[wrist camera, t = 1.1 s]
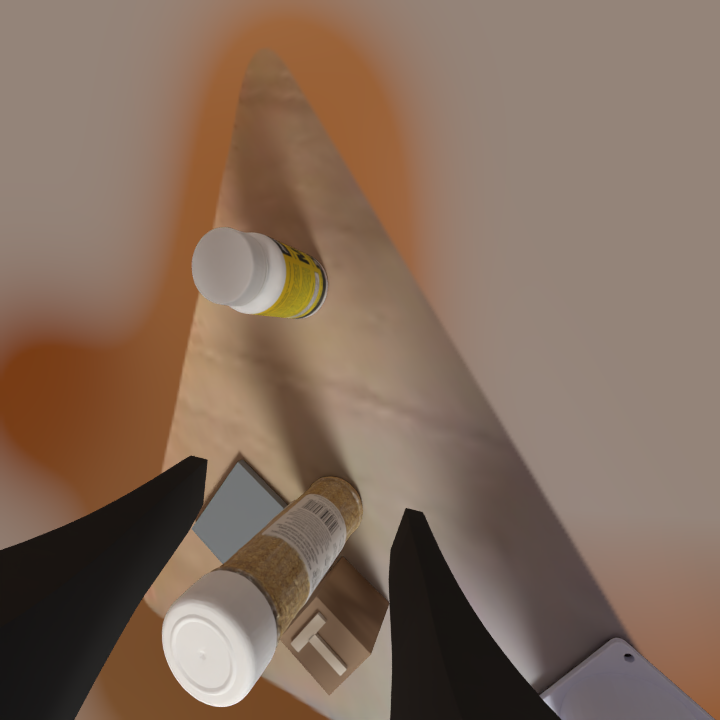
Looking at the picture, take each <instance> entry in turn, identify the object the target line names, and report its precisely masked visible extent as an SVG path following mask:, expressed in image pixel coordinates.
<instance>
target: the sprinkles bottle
mask: <svg viewBox="0 0 720 720" xmlns="http://www.w3.org/2000/svg"><path fill="white" fill-rule="evenodd" d="M362 514H363V509H362V503H361V499H360V497H359V495H358V493H357V492H356V490H355V489H354V488H353V487H352V486H351V485H350V484H349V483H348V482H346V481H345V480H343V479H341V478H338V477H331V476H329V477H323V478H320V479H318V480H317V481H315V482H314V483H313V484H312V485H311V486H310V488H309V489H308V490H307V491H306V492H305V493H304V494H303V495H301V496H300V497H299V498H298V499H297V500H294V501H293V502H291V503H290V504H289V505H288V506H287V507H286V508H284V509H283V510H282V511H281V512H280V513H279V514H277V515H276V516H275V517H274V518H273V519H272V520H270V521H269V522H268V524H267V525H266V526H265V527H264V528H263V529H262V530H261V531H260V532H258V533H257V534H256V535H255V536H254V537H253V538H252V539H251V540H250V541H248V542H247V543H246V544H245V545H244V546H243V547H241V548H240V549H239V550H238V551H237V552H236V553H235V554H234V555H233V556H232V557H231V558H229V559H228V560H227V561H226V562H225V563H224V564H223V565H221V566H220V567H219V568H216V569H214V570H212V571H211V572H210V573H208V574H206V575H204V576H203V577H201V578H200V579H199V580H198V581H197V582H195V583H194V584H193V585H192V586H191V587H190V588H189V589H187V590H186V591H185V592H184V593H183V594H182V595H181V596H180V597H179V598H178V599H177V600H176V601H175V602H174V603H173V604H172V605H171V607H170V608H169V610H168V612H167V613H166V616H165V619H164V622H163V628H162V642H163V648H164V653H165V656H166V659H167V662H168V664H169V667H170V669H171V671H172V673H173V674H174V676H175V677H176V679H177V680H178V682H179V683H180V684H181V685H182V687H183V688H184V689H185V690H186V691H187V692H188V693H189V694H191V695H192V696H193V697H195V698H196V699H198V700H199V701H201V702H203V703H205V704H208V705H212V706H217V707H226V706H230V705H233V704H235V703H237V702H239V701H240V700H242V699H243V698H244V697H245V696H246V695H247V694H248V693H249V691H250V690H251V688H252V687H253V686H254V684H255V683H256V681H257V680H258V679H259V677H260V676H261V674H262V673H263V671H264V670H265V668H266V667H267V665H268V664H269V662H270V661H271V659H272V657H273V654H274V652H275V649H276V647H277V645H278V643H279V640H280V638H281V636H282V635H283V633H284V632H285V630H286V629H287V628H288V626H289V624H290V623H291V621H292V620H293V619H294V618H295V616H296V614H297V613H298V612H299V610H300V609H301V608H302V607H303V606H304V605H305V603H306V602H307V600H308V599H309V597H310V596H311V594H312V593H313V591H314V590H315V588H316V587H317V585H318V584H319V582H320V581H321V580H322V578H323V577H324V575H325V574H326V572H327V571H328V569H329V568H330V566H331V565H332V563H333V562H334V560H335V559H336V557H337V556H338V554H339V553H340V552H341V550H342V548H343V546H344V544H345V542H346V541H347V539H348V538H349V536H350V535H351V533H353V532H354V531H355V530H356V529H357V528H358V526H359V524H360V522H361V520H362Z"/></svg>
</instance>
